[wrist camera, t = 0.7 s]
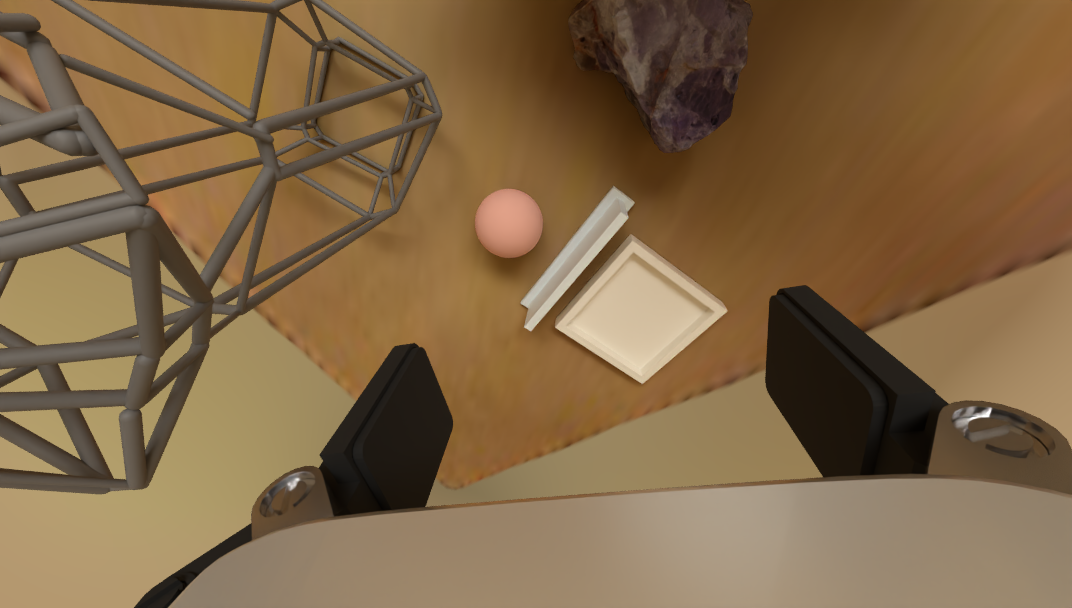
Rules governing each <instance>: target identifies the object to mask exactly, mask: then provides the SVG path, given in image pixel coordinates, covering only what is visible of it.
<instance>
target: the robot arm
mask: <svg viewBox="0 0 1072 608" xmlns="http://www.w3.org/2000/svg"><path fill="white" fill-rule="evenodd" d="M765 383H766V388H767V391H768V393H769V395H770V397H771V398H772V400H773V401H774V403H775V404H776V406H777V407H778V409H779V410H780V412H781V413H782V415H783V416H784V418H785V419H786V421H787V422H788V424H789V425H790V427H791V428H792V430H793V432H794V433H795V435H796V436H797V438H798V439H799V441H800V442H801V444H802V445H803V447H804V448H805V450H806V451H807V453H808V454H809V456H810V457H811V459H812V460H813V462H814V464H815V465H816V467H817V468H818V470H819V471H820V473H821V474H822V476H823V477H822V478H807V479H790V480H773V481H760V482H745V483H731V484H717V485H704V486H689V487H675V488H660V489H647V490H634V491H620V492H607V493H595V494H582V495H568V496H556V497H543V498H529V499H517V500H505V501H493V502H481V503H468V504H457V505H444V506H432V507H425V506H426V503H427V500H428V498H429V495H430V492H431V489H432V486H433V483H434V480H435V478H436V475H437V472H438V469H439V466H440V463H441V460H442V457H443V455H444V452H445V449H446V446H447V443H448V440H449V437H450V434H451V432H452V428H453V419H452V415H451V413H450V410H449V408H448V406H447V403H446V401H445V398H444V396H443V393H442V391H441V388H440V386H439V383H438V381H437V378H436V376H435V373H434V371H433V369H432V366H431V364H430V361H429V359H428V356H427V354H426V351H425V350H424V348H422V347H419V346H418V345H417V344H415V343H412V344H406V345H399V346H395V347H394V348H393V349H392V350H391V352H390V353H389V355H388V356H387V358H386V359H385V361H384V362H383V364H382V365H381V366H380V368H379V369H378V371H377V372H376V374H375V375H374V377H373V378H372V379H371V381H370V382H369V384H368V385H367V387H366V388H365V390H364V391H363V393H362V394H361V395H360V397H359V398H358V400H357V401H356V403H355V404H354V406H353V407H352V409H351V410H350V411H349V413H348V415H347V416H346V417H345V419H344V420H343V422H342V423H341V424H340V426H339V427H338V429H337V430H336V432H335V434H334V435H333V436H332V438H331V439H330V441H329V442H328V443H327V445H326V446H325V448H324V449H323V451H322V452H321V454H320V456H321V458H322V459H323V462H322V464H321V466H320V467H319V468H317V467H314V466H304V467H301V468H297V469H294V470H292V471H290V472H288V473H286V474H284V475H282V476H281V477H279V478H278V479H276V480H275V481H274V482H273V483H271V484H270V485H269V486H268V487H267V488H266V489H265V490H264V491H263V492H262V493H261V495H260V496H259V497H258V498H257V500H256V502H255V504H254V505H253V508H252V514H251V522H252V523H251V524H249V525H248V526H246V527H245V528H243V529H242V530H240V531H239V532H237V533H236V534H234V535H232V536H231V537H229V538H228V539H226V540H225V541H223V542H222V543H220V544H219V545H217V546H216V547H214V548H213V549H211V550H209V551H208V552H206V553H205V554H203V555H202V556H200V557H199V558H197V559H196V560H194V561H192V562H191V563H189V564H188V565H186V566H185V567H183V568H182V569H180V570H179V571H177V572H176V573H174V574H172V575H171V576H169V577H168V578H166V579H165V580H164V581H163V582H161V583H159V584H158V585H156V586H155V587H153V588H152V589H151V590H150V591H149V592H148V593H146V594H145V595H144V596H143V597H142V599H141V600H140V601H139V602H138V604H137V605H136V606H135V607H134V608H1072V449H1071V447H1070V445H1069V443H1068V441H1067V439H1066V438H1065V437H1064V436H1063V435H1062V434H1061V433H1060V432H1059V431H1058V430H1057V429H1056V428H1054V427H1052V426H1051V425H1049V424H1048V423H1046V422H1045V421H1043V420H1041V419H1040V418H1037V417H1035V416H1033V415H1031V414H1028V413H1026V412H1024V411H1021V410H1018V409H1015V408H1011V407H1008V406H1005V405H1002V404H996V403H991V402H984V401H960V402H954V403H951V404H948V403H947V402H946V401H944V400H943V399H942V398H941V397H940V396H939V395H937V394H936V393H935V390H934V389H933V388H931V387H930V386H929V385H928V384H927V383H925V382H924V381H923V380H922V379H920V378H919V377H918V376H917V375H916V374H914V373H913V372H912V371H911V370H909V369H908V368H907V367H906V366H904V365H903V364H902V363H901V362H900V361H898V360H897V359H896V358H895V357H894V356H892V355H891V354H890V353H889V352H887V351H886V350H885V349H884V348H883V347H881V346H880V345H879V344H878V343H876V342H875V341H874V340H873V339H872V338H870V337H869V336H868V335H867V334H865V333H864V332H863V331H862V330H861V329H859V328H858V327H857V326H856V325H854V324H853V323H852V322H851V321H850V320H848V319H847V318H846V317H845V316H843V315H842V314H841V313H840V312H839V311H837V310H836V309H835V308H834V307H832V306H831V305H830V304H829V303H828V302H826V301H825V300H824V299H823V298H821V297H820V296H819V295H818V294H817V293H815V292H814V291H813V290H812V289H810V288H809V287H808V286H806V285H803V286H796V287H790V288H783V289H779V290H778V292H777V295H774V296H771V298H770V302H769V320H768V339H767V358H766V377H765Z"/></svg>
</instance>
